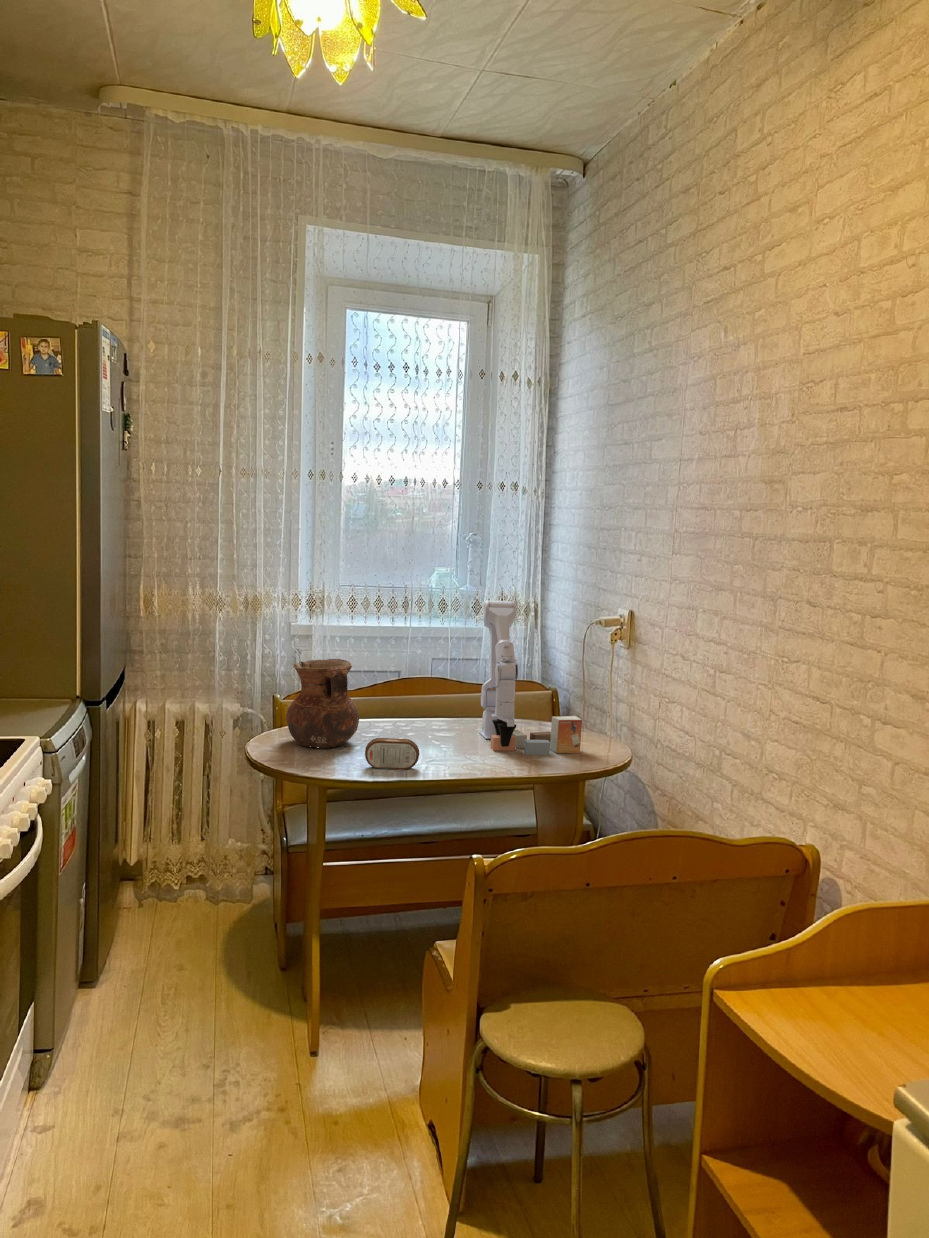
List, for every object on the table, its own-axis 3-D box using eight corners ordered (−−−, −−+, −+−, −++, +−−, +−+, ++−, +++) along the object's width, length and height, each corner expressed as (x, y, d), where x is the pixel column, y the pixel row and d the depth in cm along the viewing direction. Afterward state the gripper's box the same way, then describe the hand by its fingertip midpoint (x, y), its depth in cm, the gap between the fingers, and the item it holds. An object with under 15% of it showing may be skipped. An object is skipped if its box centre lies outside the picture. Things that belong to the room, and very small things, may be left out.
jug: (271, 744, 275) (272, 662, 272) (313, 731, 293) (315, 654, 290) (331, 756, 264) (333, 670, 262) (371, 742, 283) (374, 662, 280)
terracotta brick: (490, 747, 282) (491, 735, 282) (512, 747, 284) (513, 734, 283) (493, 750, 279) (493, 737, 278) (515, 750, 280) (516, 737, 280)
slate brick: (524, 752, 279) (525, 739, 279) (547, 752, 280) (547, 739, 279) (526, 755, 276) (527, 742, 275) (549, 755, 276) (550, 742, 276)
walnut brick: (529, 744, 289) (530, 732, 288) (548, 743, 292) (549, 731, 291) (534, 747, 286) (535, 735, 285) (554, 746, 289) (554, 733, 288)
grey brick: (516, 748, 284) (516, 735, 283) (507, 742, 290) (507, 730, 290) (526, 747, 285) (527, 735, 285) (517, 742, 292) (517, 730, 291)
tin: (418, 767, 256) (419, 738, 255) (418, 770, 253) (419, 741, 252) (364, 766, 256) (365, 736, 255) (363, 769, 252) (364, 739, 251)
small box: (556, 753, 278) (557, 719, 277) (549, 749, 284) (551, 715, 283) (580, 753, 281) (582, 719, 279) (573, 748, 286) (575, 715, 285)
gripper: (486, 696, 286) (484, 739, 287) (499, 705, 272) (497, 750, 273) (507, 696, 287) (505, 738, 289) (521, 705, 273) (519, 750, 275)
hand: (503, 744), depth 281 cm, fingers closed on terracotta brick, 4 cm apart
